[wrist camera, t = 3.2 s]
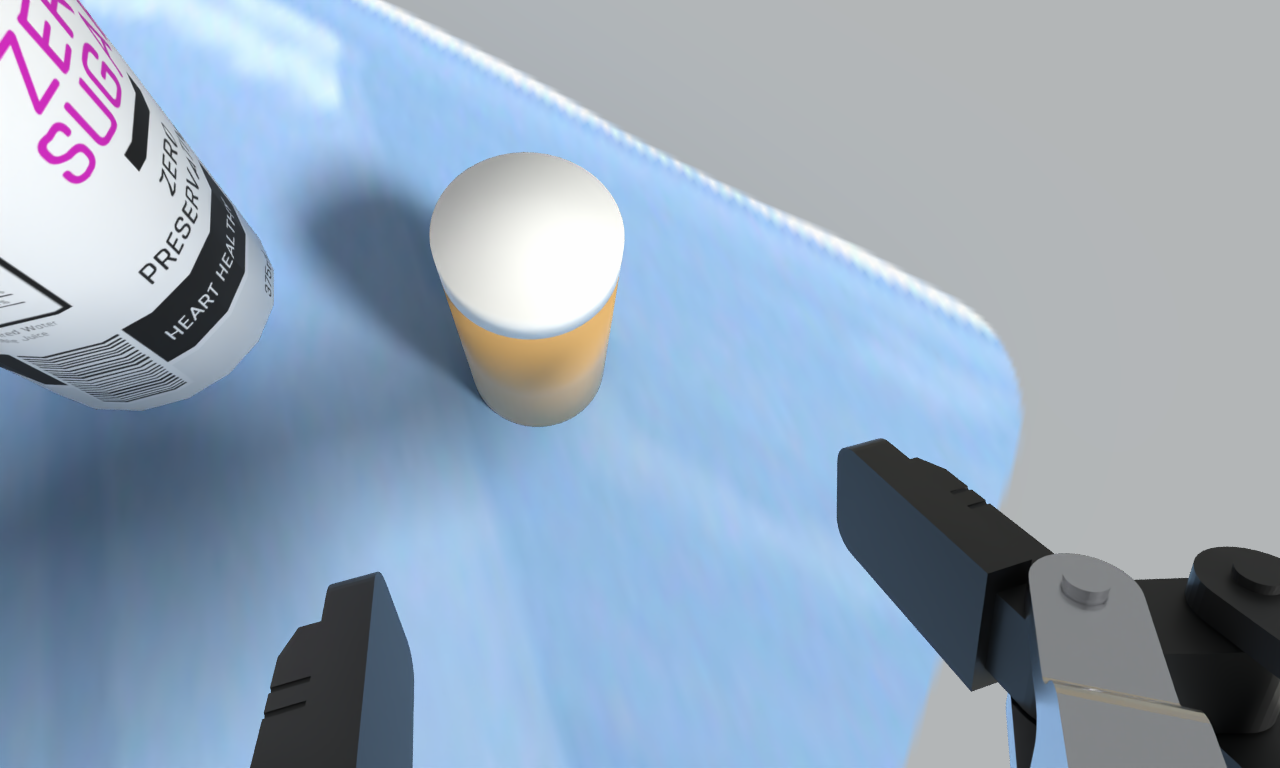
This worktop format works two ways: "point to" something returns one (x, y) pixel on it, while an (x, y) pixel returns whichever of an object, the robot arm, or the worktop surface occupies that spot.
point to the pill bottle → (530, 281)
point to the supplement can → (111, 228)
